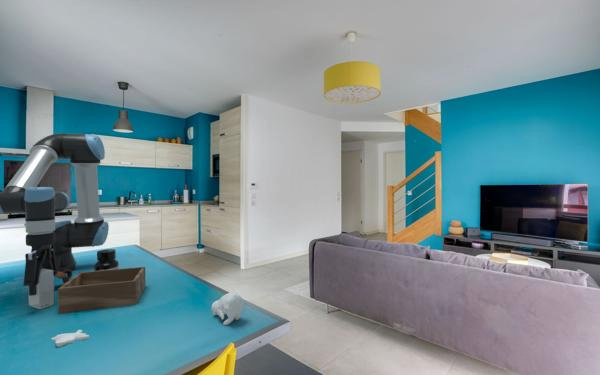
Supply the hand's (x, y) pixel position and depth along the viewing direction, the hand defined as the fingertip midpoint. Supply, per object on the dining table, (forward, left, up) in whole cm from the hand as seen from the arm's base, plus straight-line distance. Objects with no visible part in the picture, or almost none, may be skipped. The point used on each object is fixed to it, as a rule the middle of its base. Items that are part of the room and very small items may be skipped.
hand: (42, 298), depth 99 cm
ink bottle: (-26, +12, -3) cm, 29 cm away
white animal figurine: (+30, +58, -3) cm, 66 cm away
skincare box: (0, 0, -3) cm, 3 cm away
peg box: (0, +19, -2) cm, 19 cm away
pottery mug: (-19, -3, -3) cm, 20 cm away
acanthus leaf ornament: (+28, +18, -3) cm, 33 cm away
